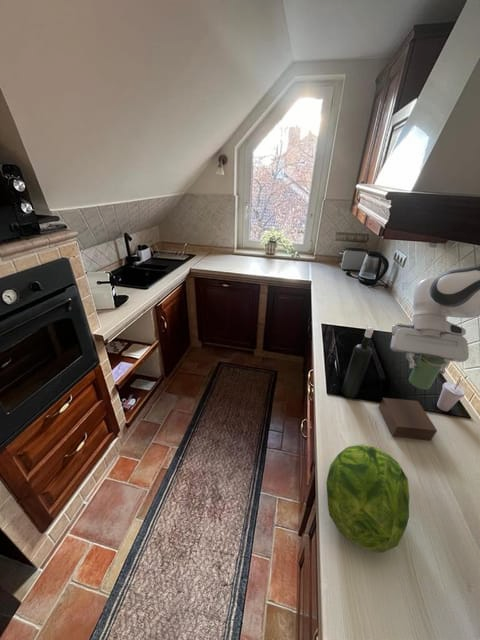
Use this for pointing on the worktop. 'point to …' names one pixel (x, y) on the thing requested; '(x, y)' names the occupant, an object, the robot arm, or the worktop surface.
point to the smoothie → (450, 395)
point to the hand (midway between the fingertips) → (426, 371)
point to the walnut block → (406, 419)
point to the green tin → (426, 371)
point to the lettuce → (368, 497)
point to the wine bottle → (357, 366)
